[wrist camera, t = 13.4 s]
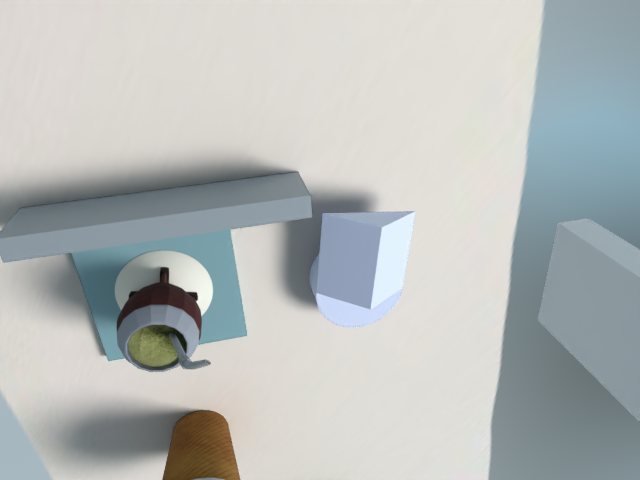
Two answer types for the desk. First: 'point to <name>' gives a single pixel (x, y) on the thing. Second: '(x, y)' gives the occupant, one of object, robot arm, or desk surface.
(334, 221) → the wedge on round base
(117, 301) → the mat
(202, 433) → the disposable coffee cup
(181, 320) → the mate gourd
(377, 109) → the desk surface
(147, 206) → the low wall
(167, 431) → the desk surface
